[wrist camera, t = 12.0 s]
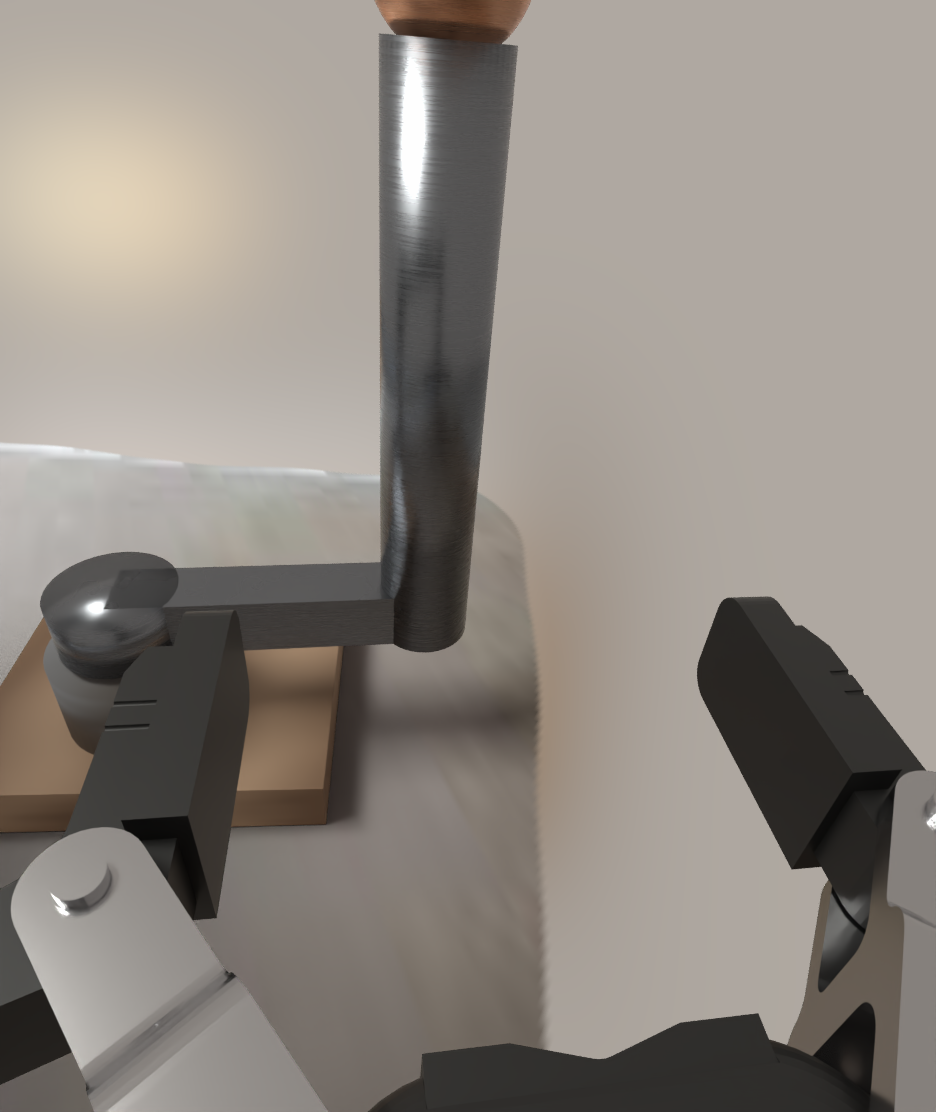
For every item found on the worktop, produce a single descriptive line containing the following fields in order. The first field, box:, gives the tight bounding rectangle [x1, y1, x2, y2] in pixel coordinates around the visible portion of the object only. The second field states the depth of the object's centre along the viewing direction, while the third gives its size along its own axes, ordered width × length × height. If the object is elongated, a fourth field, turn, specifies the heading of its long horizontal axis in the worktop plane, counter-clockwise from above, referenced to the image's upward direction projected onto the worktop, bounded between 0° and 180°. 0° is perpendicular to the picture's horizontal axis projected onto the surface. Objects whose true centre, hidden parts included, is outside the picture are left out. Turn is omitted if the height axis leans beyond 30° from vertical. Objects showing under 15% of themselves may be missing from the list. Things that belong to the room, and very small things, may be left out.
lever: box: [40, 0, 531, 679], centre depth 18 cm, size 14×4×20 cm, turn 98°
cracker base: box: [0, 617, 344, 832], centre depth 26 cm, size 12×10×5 cm
